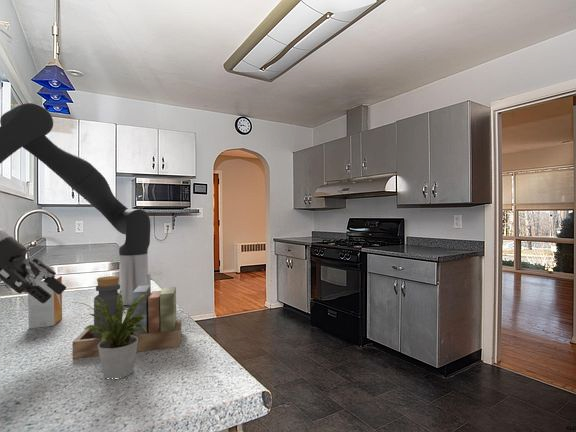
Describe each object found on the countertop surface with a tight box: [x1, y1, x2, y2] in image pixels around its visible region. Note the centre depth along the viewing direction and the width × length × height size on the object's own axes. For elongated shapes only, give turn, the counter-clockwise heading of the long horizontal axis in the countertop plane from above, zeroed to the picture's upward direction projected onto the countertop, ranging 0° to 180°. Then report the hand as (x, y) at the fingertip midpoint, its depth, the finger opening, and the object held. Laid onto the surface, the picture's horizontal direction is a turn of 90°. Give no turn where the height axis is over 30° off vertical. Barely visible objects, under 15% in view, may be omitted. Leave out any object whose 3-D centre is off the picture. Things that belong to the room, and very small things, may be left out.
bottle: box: [93, 275, 123, 338], centre depth 80 cm, size 6×6×15 cm
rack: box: [71, 285, 182, 359], centre depth 81 cm, size 22×10×13 cm, turn 105°
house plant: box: [73, 290, 149, 379], centre depth 65 cm, size 14×14×16 cm
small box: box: [27, 275, 63, 329], centre depth 98 cm, size 8×6×13 cm
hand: (56, 295), depth 77 cm, fingers open, 8 cm apart
